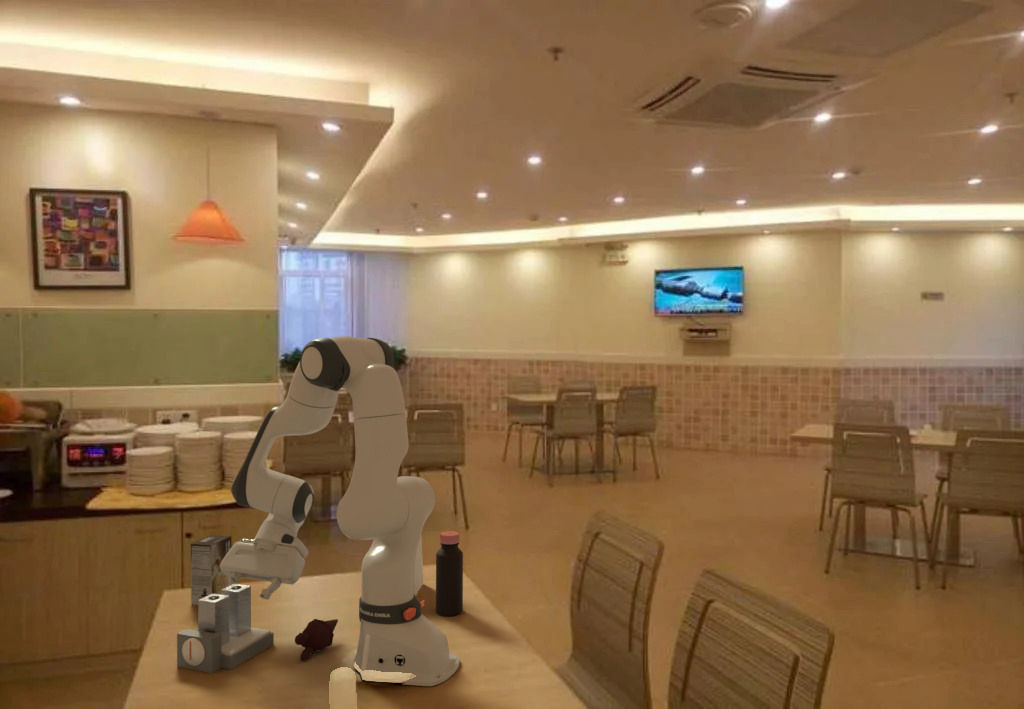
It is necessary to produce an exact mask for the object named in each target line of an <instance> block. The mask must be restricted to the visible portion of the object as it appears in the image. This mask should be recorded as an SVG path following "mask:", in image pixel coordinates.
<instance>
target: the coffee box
mask: <svg viewBox="0 0 1024 709" xmlns="http://www.w3.org/2000/svg"><path fill="white" fill-rule="evenodd" d="M232 546H233V545H232V535H220V534H219V535H218V534H217V535H215V534H210V535H208V536H206V537H202V538H201V539H199V540H196V541H195V542H192V543H190V592H191V593H190V597H191V598H190V600H191V601H190V602H191V603H190V604H191V605H192V604H195V605H194V606H198V600H200V599H202V598H204V597H206V596H208V595H211V594H220V595H221V590H222V589H224V588H226V587H228V585H229V582H228V576H227V575H225V574H224V573H223V572H222V571H221V570H220V564H221V562H222V560H223V559H224V557H225V556H226V554H227V553H228V551H229V550H230V549H231V547H232Z"/></svg>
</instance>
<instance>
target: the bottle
mask: <svg viewBox="0 0 1024 709" xmlns="http://www.w3.org/2000/svg"><path fill="white" fill-rule="evenodd" d="M459 544H460V532H458V531H454V530H447V531H442V532H440V533H439V545H440V548H439V549H438V550H437V552H436V553H435V612H436V614H438V615H439V614H440V615H439V616H442V615H444V616H443V617H453V616H452V615H455V616H458V615H461V614H462V612H463V610H464V594H463V593H464V592H463V591H464V580H463V579H464V552H463V550H462V549H460V547H459ZM457 614H458V615H457Z"/></svg>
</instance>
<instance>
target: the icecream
mask: <svg viewBox="0 0 1024 709" xmlns="http://www.w3.org/2000/svg"><path fill="white" fill-rule="evenodd" d="M338 622H339V620H338V618H336V619H329V620H323V619H322V620H321V619H318V618H314V619H313V620H312V621H309V622H308V623H307V626H306V627H304V629H303V630H302V632H299V633H298V634H297V635H296V636H295V637H294V643H295V645H297V646H301V647H302V648H304V649H303V650H302V651H301V652H300V656H299V660H300V661H301V662H306V661H307V660H309V659H310V658H311V656H312V654H313V653H314V652H321V651H324V650H325V649H326V648H328V647H330V646H332V644H333V641H334V637H335V634H334V631H335V630H336V629H335V628H336V626H337V624H338Z"/></svg>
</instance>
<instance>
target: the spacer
mask: <svg viewBox="0 0 1024 709" xmlns="http://www.w3.org/2000/svg"><path fill="white" fill-rule="evenodd" d="M221 595H227V596H229V636H234V637H239V636H241V635H243V634H244V633H246V632H248V631H250V630H251V627H252V586H251V585H248V584H247V585H246V584H239V583H235V584H233V585H231V586H229V587H226V588H224V589H222V590H221Z"/></svg>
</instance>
